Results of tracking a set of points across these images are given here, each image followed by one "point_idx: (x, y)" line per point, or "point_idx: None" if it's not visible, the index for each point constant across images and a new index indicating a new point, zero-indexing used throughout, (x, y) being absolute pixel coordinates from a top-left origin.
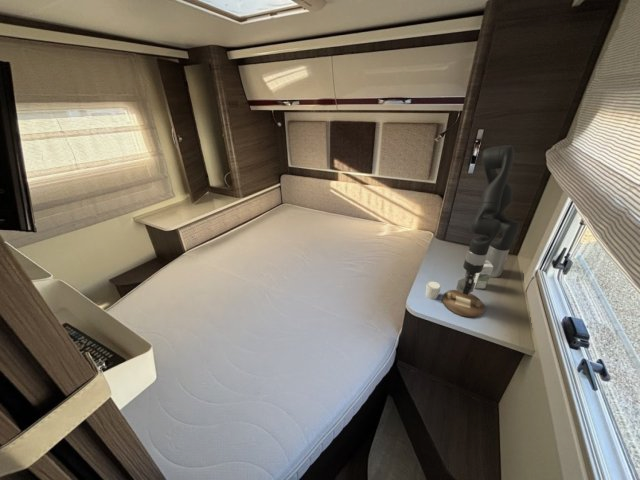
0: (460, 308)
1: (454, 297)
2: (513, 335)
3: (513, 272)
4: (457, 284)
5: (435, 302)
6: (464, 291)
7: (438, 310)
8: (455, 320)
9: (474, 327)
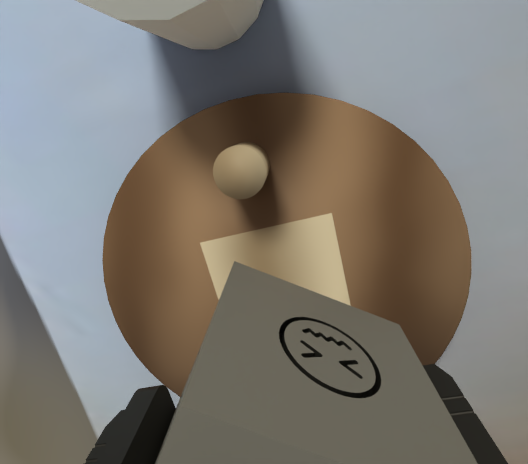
0: (172, 295)
1: (293, 207)
2: None
3: None
4: (215, 311)
5: (127, 68)
6: (89, 455)
7: (47, 140)
8: (53, 287)
9: (93, 394)
